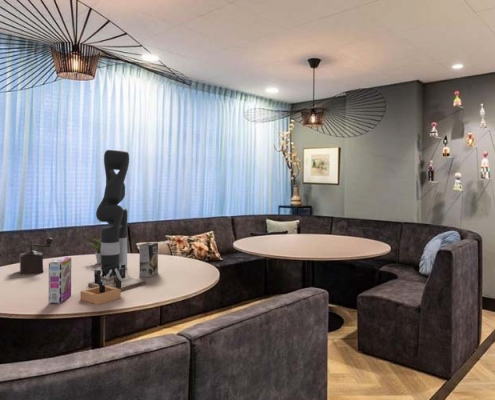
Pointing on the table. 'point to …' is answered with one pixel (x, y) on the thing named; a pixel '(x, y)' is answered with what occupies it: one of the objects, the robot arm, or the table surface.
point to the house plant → (98, 254)
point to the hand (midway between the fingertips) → (110, 291)
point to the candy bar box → (59, 280)
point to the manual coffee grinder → (33, 259)
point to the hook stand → (125, 282)
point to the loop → (100, 295)
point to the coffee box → (148, 259)
